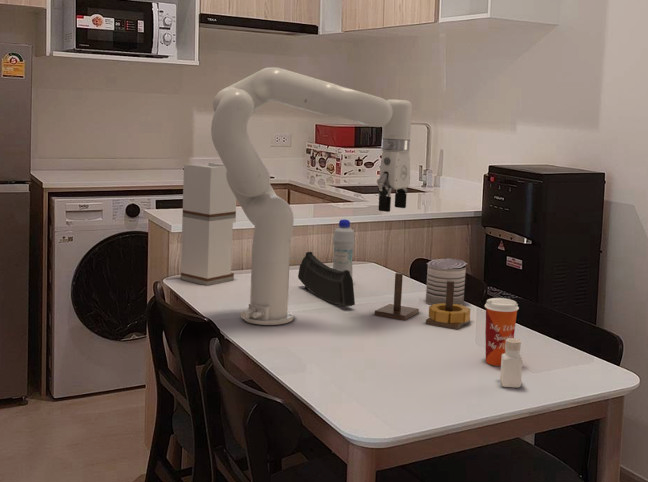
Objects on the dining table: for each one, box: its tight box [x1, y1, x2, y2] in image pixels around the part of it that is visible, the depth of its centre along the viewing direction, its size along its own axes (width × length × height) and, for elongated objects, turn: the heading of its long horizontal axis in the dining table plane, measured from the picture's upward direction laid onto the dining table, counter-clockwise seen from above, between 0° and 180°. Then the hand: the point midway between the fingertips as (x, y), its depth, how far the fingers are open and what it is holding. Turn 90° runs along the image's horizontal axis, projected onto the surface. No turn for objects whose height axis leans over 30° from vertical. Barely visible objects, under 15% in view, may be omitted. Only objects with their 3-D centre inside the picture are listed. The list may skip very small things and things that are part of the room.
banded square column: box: [180, 162, 237, 286], centre depth 249 cm, size 11×11×35 cm
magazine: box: [297, 251, 356, 307], centre depth 235 cm, size 17×3×30 cm
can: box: [425, 257, 468, 306], centre depth 238 cm, size 11×11×12 cm
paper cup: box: [484, 297, 520, 367], centre depth 186 cm, size 8×8×14 cm
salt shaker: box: [499, 337, 524, 388], centre depth 171 cm, size 4×4×10 cm
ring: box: [428, 303, 471, 323], centre depth 217 cm, size 10×10×3 cm
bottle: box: [332, 218, 356, 278], centre depth 255 cm, size 7×7×20 cm
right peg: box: [425, 280, 471, 330], centre depth 216 cm, size 9×9×11 cm
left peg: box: [374, 272, 420, 321], centre depth 222 cm, size 9×9×11 cm
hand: (392, 209), depth 221 cm, fingers open, 9 cm apart
